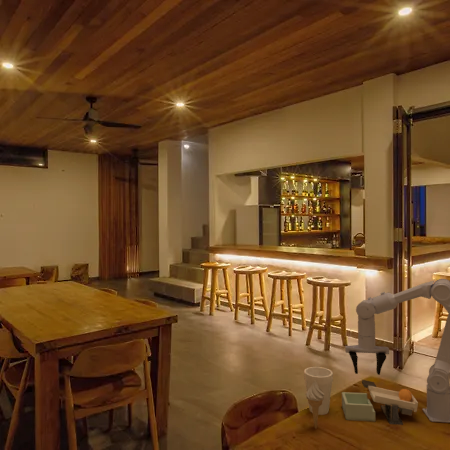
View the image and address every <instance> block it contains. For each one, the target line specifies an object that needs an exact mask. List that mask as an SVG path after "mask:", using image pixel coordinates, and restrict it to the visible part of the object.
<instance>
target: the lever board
mask: <svg viewBox="0 0 450 450" xmlns="http://www.w3.org/2000/svg"><path fill="white" fill-rule="evenodd" d="M361 383H362V386H363V387H364V388H367V389H368V391H369V394H370V397H371V398H372V399H371V400H372V401H373V402H374V403H378V404H382V405H385V404H387V405H391V406H392V405H398V411H399V412H400V413H401V414H402V415H407V416H411V417H412V415H413V412H414V413H417V412H418V406H419V402H418V401H417V399H416V398H415V396H414V395H413V394H412V399H411V401H410V402H408V401H403V400H401V399H400V398H399V391H396V390H391V389H388V388H387V389H386V388H382V387H377V385H376V384H375V382H374V381H371V380H367V379H366V380H365V379H362V380H361Z"/></svg>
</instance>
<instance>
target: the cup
mask: <svg viewBox="0 0 450 450" xmlns="http://www.w3.org/2000/svg"><path fill="white" fill-rule="evenodd" d="M341 408H342V411H343V415H344V417H345V420H346V421H362V422H376V411H375V409H374V406H373V404H372V402H371V400H370V399H369V398H368V393H366V392H365V393H364V392H351V391H350V392H348V391H347V392H345V391H343V392H341Z"/></svg>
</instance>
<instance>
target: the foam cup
mask: <svg viewBox="0 0 450 450" xmlns="http://www.w3.org/2000/svg"><path fill="white" fill-rule="evenodd" d="M303 372H304V375H303V376H304V380H305V388H306V392H307V391H308V390H309V388H310V387H311V386H312V384H313V383H314V381H316V383H317V385H318V386H319V388H320V389H321V391H322V392H323V394H324V396H323V397H324V399H323V401H322V405H320V406H319V409H318V416H323V415H324V416H325V415H327V414H328V413H329V409H330V403H331V394H332V385H333V382H334V379H333V378H334V377H333V376H334V374H333V373H334V372H333V370H331V369H329V368H326V367H321V366H311V367H306V368H304V371H303ZM307 403H308V409H309V412H310V413H312V414H313V411H312V406H311V405H310V404H309V402H308V401H307Z"/></svg>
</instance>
